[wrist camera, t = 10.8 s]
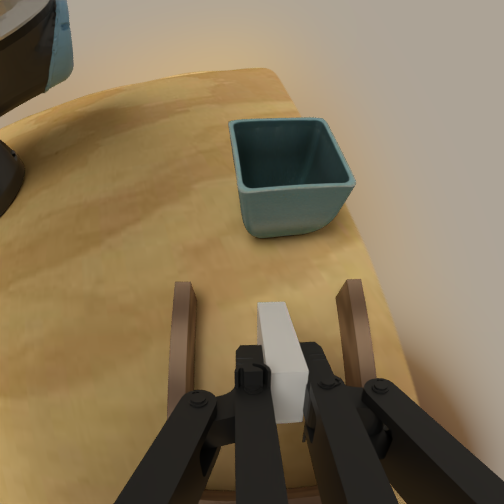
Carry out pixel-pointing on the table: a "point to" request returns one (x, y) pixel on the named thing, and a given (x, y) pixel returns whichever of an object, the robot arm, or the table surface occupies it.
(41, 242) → the table surface
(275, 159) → the flower pot
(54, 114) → the table surface
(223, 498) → the wooden tray rim
